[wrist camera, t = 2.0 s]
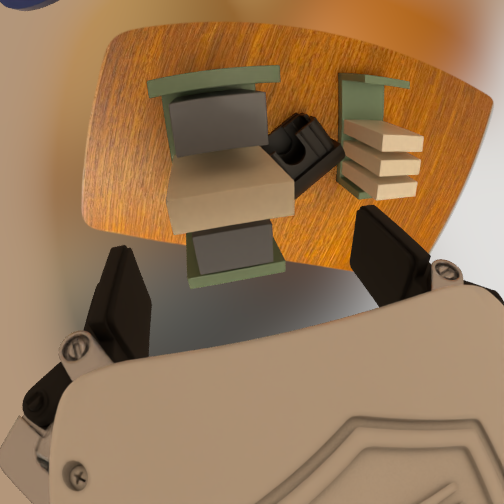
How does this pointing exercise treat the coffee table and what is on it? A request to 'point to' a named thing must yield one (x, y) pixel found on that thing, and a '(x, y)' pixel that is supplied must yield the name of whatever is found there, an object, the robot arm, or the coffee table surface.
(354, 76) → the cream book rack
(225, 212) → the cream book
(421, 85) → the coffee table surface
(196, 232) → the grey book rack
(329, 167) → the end cap
